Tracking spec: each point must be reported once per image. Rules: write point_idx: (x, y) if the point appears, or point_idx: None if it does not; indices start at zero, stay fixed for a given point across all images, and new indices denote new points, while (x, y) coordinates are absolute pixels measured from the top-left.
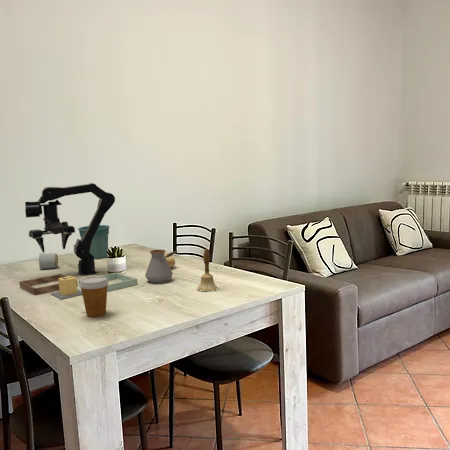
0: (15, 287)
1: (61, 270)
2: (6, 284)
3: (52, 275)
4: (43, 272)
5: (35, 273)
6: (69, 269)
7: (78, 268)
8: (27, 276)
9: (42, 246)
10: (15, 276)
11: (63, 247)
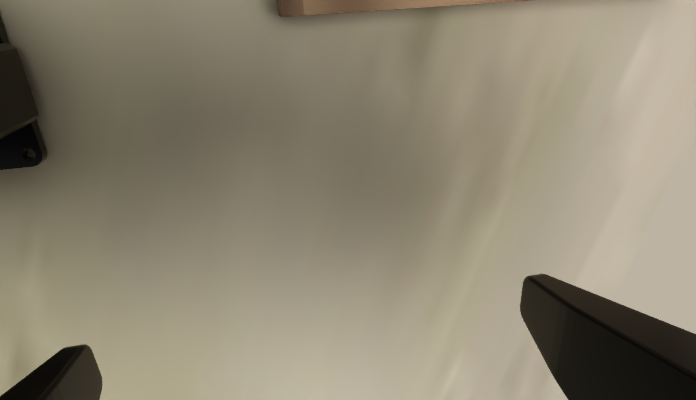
0: (681, 31)
1: (176, 369)
2: (660, 189)
3: (384, 4)
4: (320, 383)
5: (377, 385)
6: (102, 366)
7: (8, 117)
8: (455, 332)
9: (675, 334)
10: (509, 377)
11: (78, 389)
